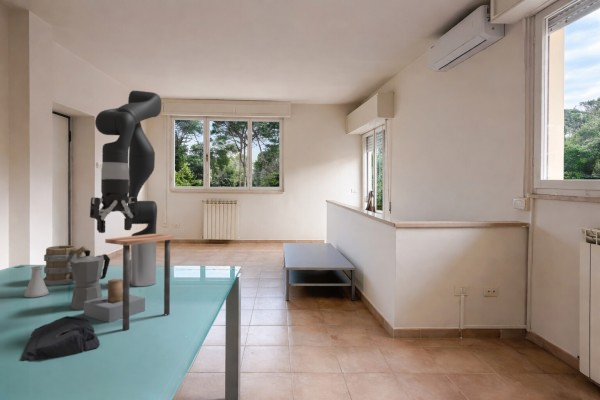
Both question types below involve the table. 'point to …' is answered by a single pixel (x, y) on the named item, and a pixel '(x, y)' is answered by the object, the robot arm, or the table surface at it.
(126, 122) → the robot arm
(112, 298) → the peg
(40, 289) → the flask
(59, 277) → the tankard
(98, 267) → the coffeepot
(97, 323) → the table surface
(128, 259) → the small wooden table
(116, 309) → the socket
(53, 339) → the dark slate chunk
